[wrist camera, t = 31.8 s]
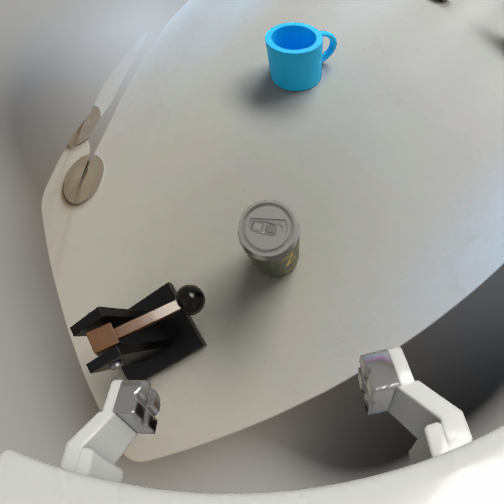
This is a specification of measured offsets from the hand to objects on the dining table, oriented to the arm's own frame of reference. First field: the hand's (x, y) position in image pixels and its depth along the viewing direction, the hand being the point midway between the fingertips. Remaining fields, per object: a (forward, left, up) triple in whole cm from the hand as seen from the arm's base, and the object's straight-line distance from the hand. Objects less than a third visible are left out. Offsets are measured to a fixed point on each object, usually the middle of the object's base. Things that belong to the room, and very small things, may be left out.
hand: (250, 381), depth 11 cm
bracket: (+8, +14, -25) cm, 30 cm away
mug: (+31, -26, -26) cm, 48 cm away
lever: (+8, +11, -18) cm, 23 cm away
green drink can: (+9, -5, -26) cm, 27 cm away
